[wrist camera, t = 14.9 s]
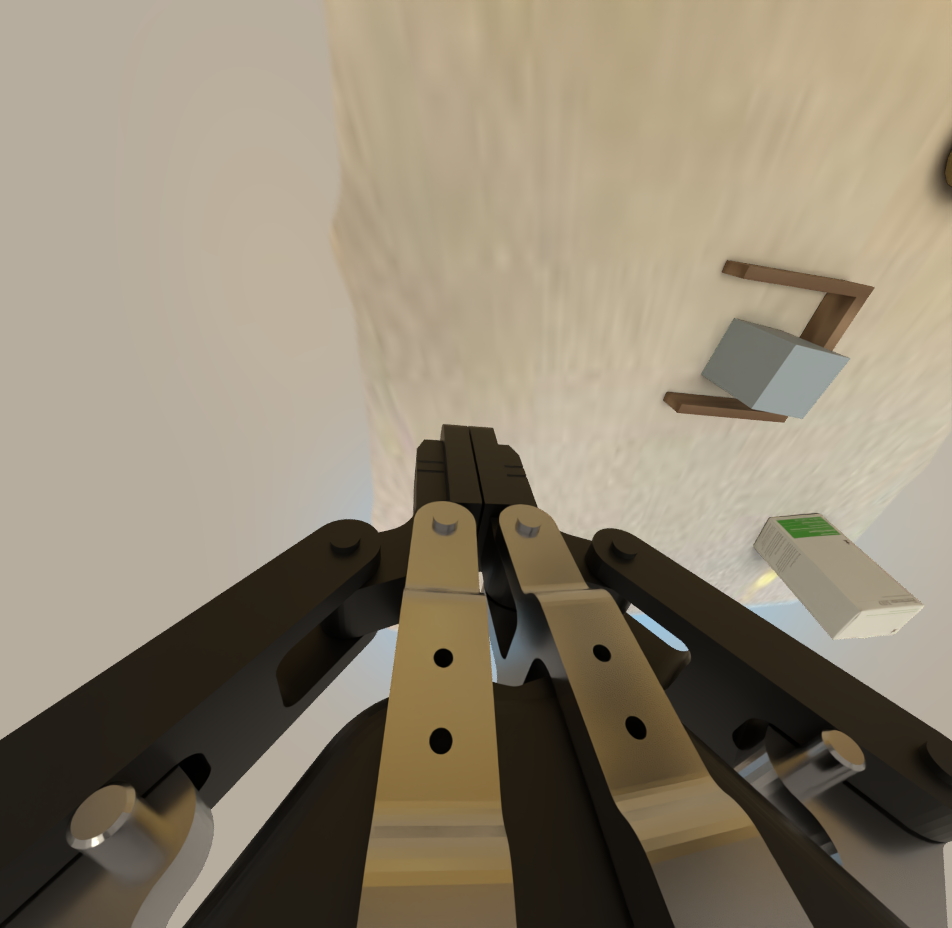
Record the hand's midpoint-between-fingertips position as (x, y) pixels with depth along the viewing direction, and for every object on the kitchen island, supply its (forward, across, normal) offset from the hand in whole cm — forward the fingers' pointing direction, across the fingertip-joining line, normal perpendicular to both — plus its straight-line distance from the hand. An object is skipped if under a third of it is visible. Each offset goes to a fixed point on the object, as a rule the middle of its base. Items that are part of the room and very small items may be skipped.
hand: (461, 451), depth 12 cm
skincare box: (+27, -55, +28) cm, 67 cm away
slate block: (+27, -32, +3) cm, 42 cm away
